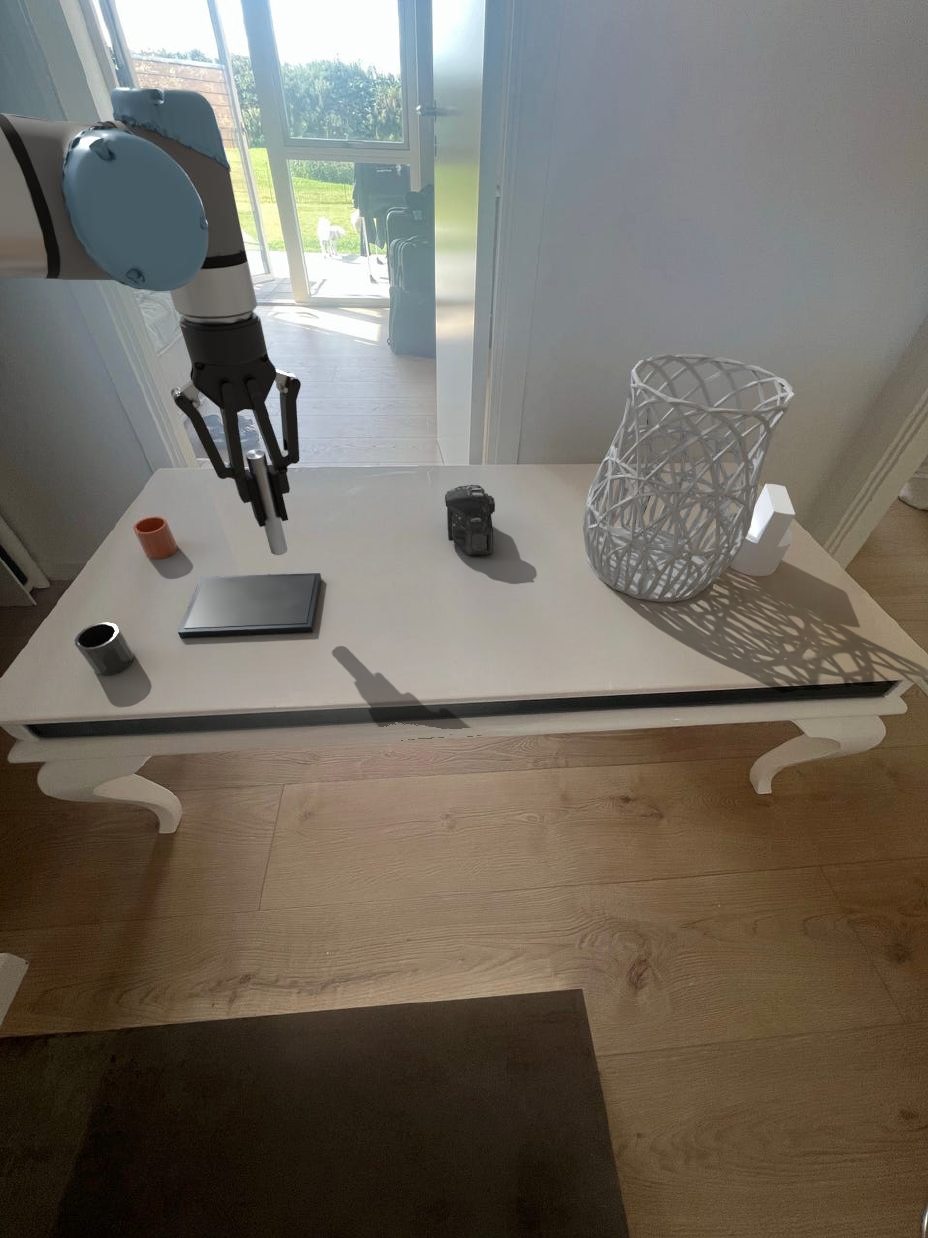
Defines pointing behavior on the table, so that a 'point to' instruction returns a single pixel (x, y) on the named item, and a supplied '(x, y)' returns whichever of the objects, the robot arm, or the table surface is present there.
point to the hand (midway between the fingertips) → (271, 517)
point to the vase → (677, 487)
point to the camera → (470, 519)
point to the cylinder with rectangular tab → (766, 533)
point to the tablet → (252, 605)
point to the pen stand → (104, 648)
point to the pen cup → (155, 537)
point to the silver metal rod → (267, 500)
